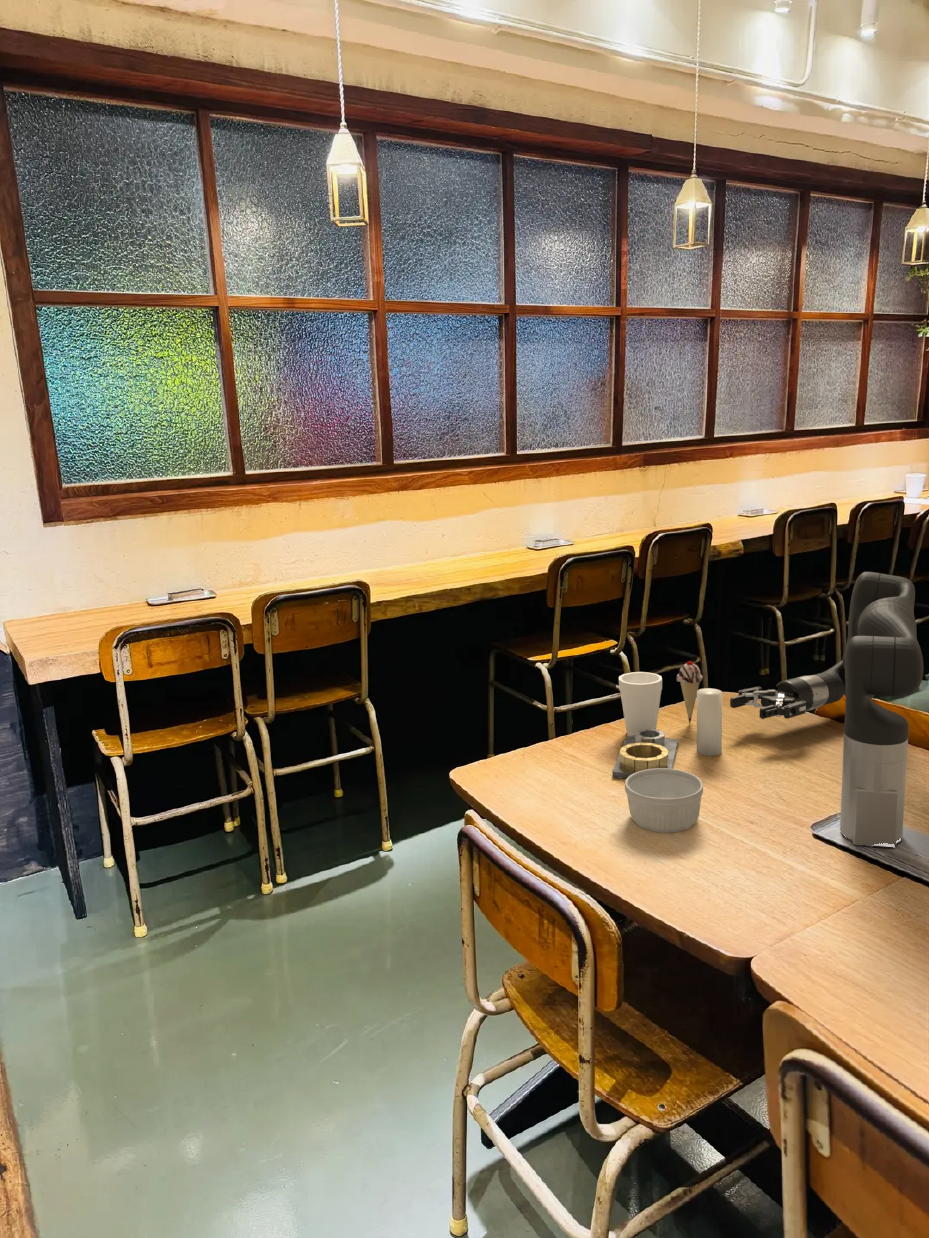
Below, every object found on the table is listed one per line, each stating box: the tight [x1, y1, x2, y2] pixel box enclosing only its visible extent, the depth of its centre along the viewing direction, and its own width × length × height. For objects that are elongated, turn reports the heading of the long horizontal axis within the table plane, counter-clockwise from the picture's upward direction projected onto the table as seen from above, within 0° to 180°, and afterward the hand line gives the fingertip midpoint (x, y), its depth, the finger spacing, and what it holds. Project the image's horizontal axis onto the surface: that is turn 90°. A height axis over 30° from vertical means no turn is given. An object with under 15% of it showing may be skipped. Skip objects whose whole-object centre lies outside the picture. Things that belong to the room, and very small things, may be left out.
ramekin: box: [624, 768, 704, 834], centre depth 147 cm, size 13×13×7 cm
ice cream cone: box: [676, 660, 704, 724], centre depth 191 cm, size 6×6×15 cm
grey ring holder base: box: [611, 728, 679, 780], centre depth 173 cm, size 20×11×4 cm, turn 161°
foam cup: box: [618, 671, 663, 736], centre depth 187 cm, size 10×9×13 cm
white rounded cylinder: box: [696, 687, 723, 757], centre depth 175 cm, size 5×5×13 cm
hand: (745, 708), depth 179 cm, fingers open, 8 cm apart
